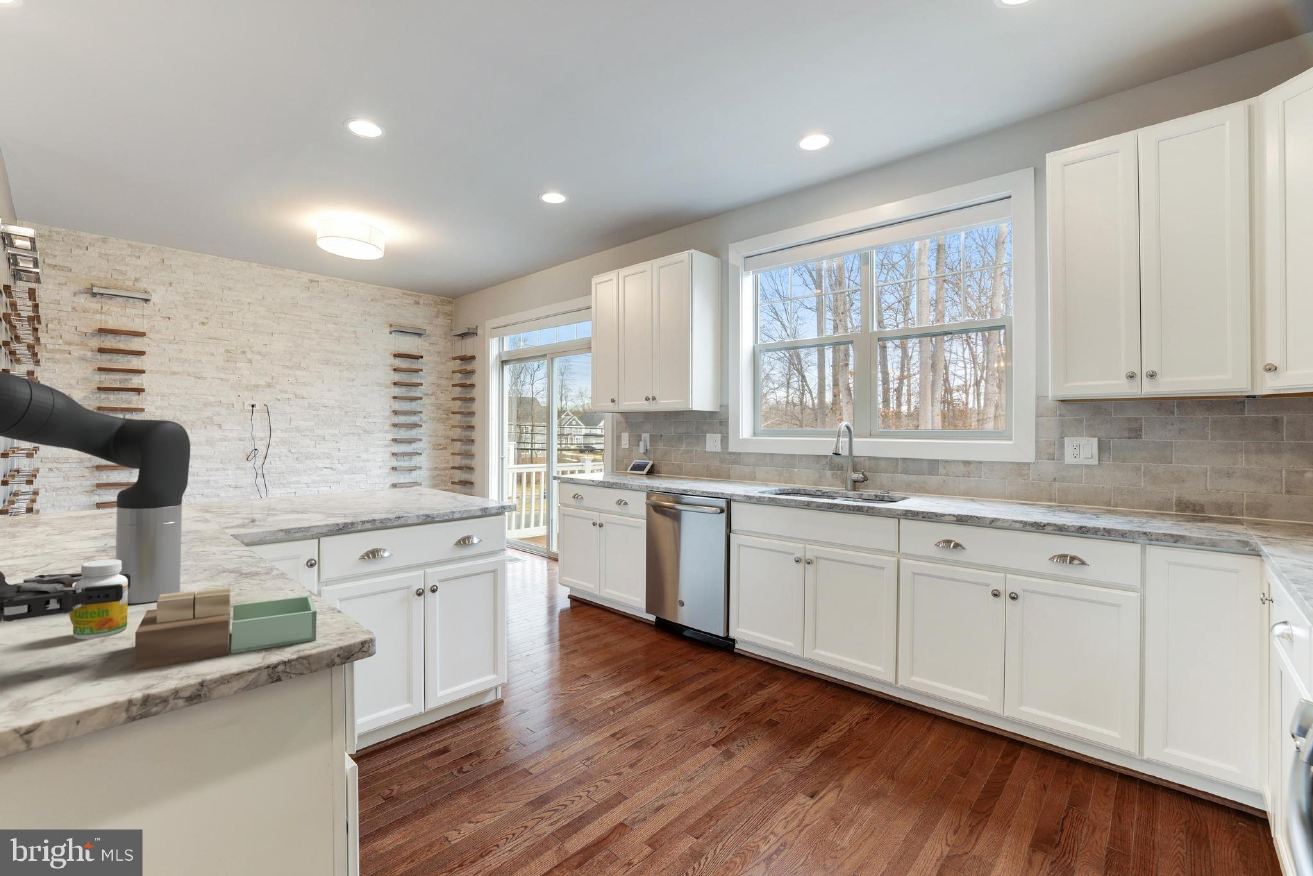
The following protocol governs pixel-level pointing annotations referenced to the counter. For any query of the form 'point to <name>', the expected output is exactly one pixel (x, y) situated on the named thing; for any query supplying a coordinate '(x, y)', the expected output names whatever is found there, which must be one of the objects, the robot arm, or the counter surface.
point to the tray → (273, 623)
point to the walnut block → (180, 639)
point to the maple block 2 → (212, 602)
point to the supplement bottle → (103, 615)
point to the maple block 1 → (176, 606)
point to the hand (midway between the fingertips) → (126, 586)
